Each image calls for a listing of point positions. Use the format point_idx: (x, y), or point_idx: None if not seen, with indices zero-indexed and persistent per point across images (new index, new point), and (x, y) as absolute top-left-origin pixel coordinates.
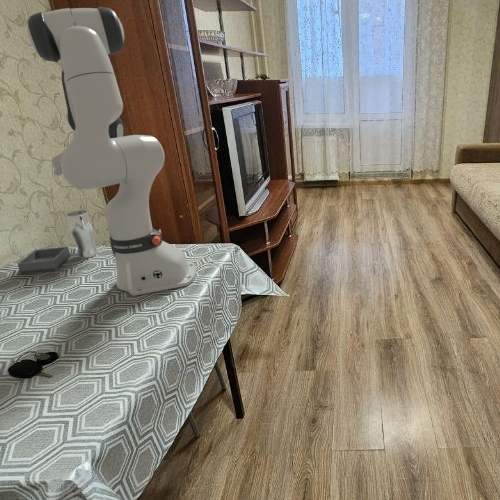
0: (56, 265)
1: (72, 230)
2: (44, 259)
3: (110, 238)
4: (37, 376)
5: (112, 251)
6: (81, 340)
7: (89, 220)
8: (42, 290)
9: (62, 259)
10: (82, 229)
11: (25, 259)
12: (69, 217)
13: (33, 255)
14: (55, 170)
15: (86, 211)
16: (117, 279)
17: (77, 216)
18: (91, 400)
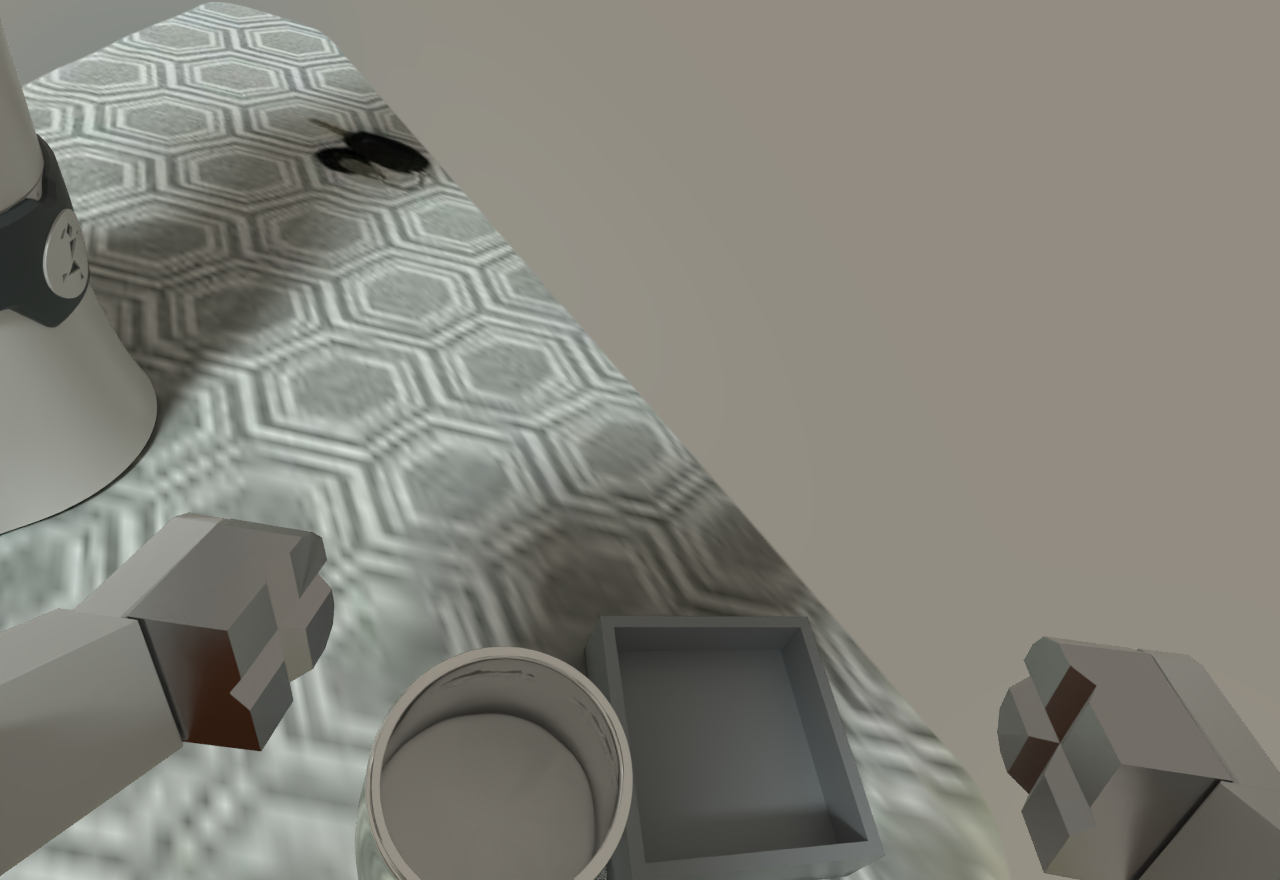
0: (592, 648)
1: (531, 718)
2: (754, 796)
3: (49, 154)
4: (347, 129)
5: (86, 258)
6: (265, 179)
7: (359, 801)
8: (545, 457)
9: None
10: (430, 723)
11: (817, 687)
12: (553, 665)
13: (842, 799)
14: (1144, 651)
15: (401, 866)
16: (132, 359)
17: (458, 657)
18: (203, 59)
